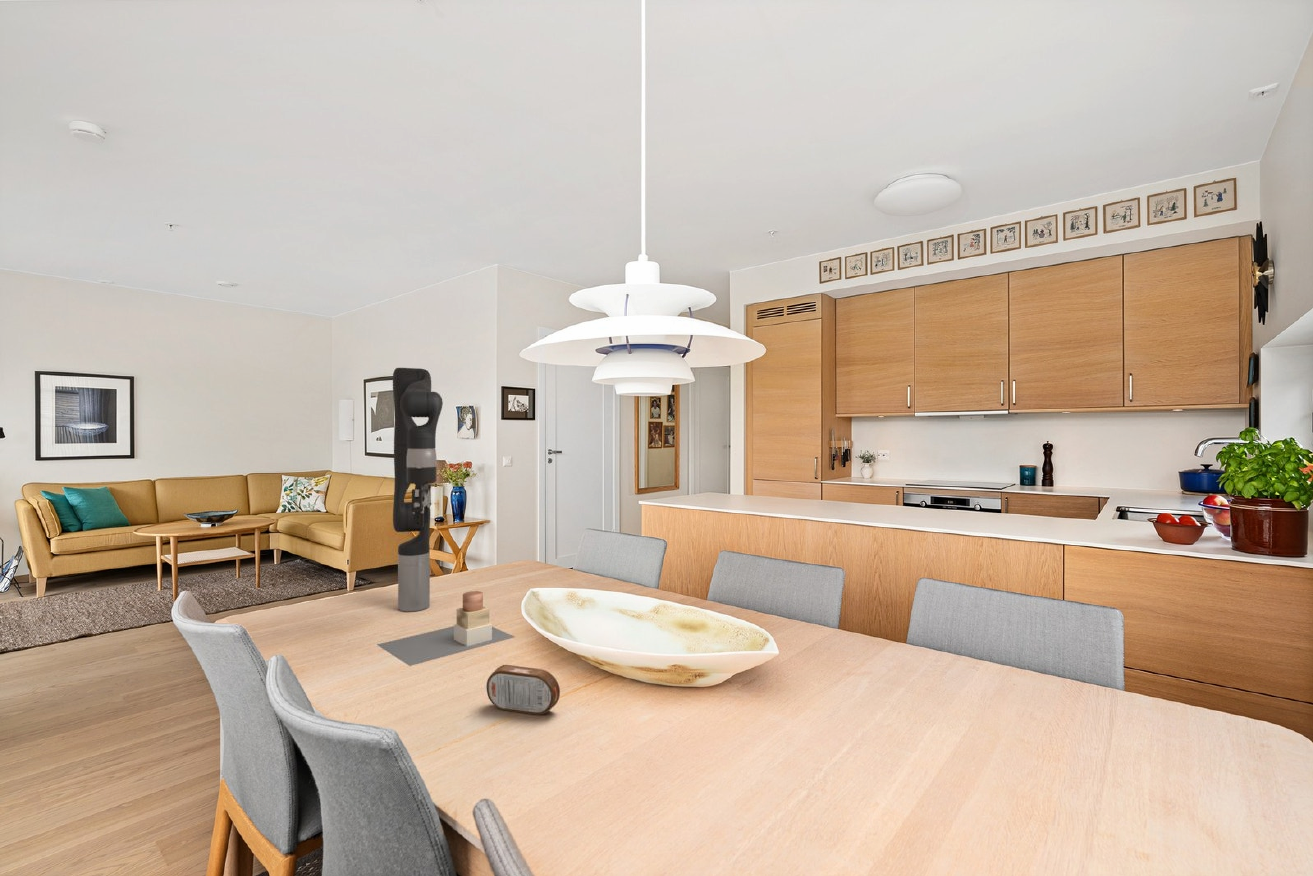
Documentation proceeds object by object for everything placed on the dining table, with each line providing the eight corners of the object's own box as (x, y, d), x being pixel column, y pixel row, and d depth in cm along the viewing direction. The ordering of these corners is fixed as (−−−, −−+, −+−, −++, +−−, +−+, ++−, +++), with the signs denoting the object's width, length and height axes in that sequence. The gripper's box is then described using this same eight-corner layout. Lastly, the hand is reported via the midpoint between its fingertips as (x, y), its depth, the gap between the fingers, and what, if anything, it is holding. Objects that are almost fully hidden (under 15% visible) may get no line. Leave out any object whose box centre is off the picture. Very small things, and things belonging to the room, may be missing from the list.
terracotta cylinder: (459, 609, 156) (459, 593, 156) (476, 605, 160) (476, 590, 160) (468, 613, 153) (468, 597, 153) (486, 609, 156) (486, 593, 156)
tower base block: (453, 639, 156) (453, 624, 156) (478, 633, 161) (478, 618, 161) (466, 646, 151) (466, 630, 151) (491, 639, 156) (491, 624, 156)
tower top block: (456, 624, 156) (456, 609, 156) (477, 619, 160) (477, 604, 160) (467, 629, 152) (467, 613, 152) (489, 624, 156) (489, 609, 156)
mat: (376, 648, 152) (376, 644, 152) (477, 623, 172) (477, 620, 172) (409, 670, 138) (409, 665, 138) (515, 640, 158) (515, 636, 158)
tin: (560, 712, 118) (560, 669, 118) (553, 719, 114) (553, 675, 114) (492, 703, 122) (492, 661, 122) (483, 709, 119) (483, 667, 119)
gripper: (412, 464, 168) (412, 522, 168) (401, 467, 154) (401, 530, 154) (440, 463, 169) (440, 521, 169) (431, 466, 155) (432, 529, 155)
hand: (421, 525), depth 162 cm, fingers open, 8 cm apart
